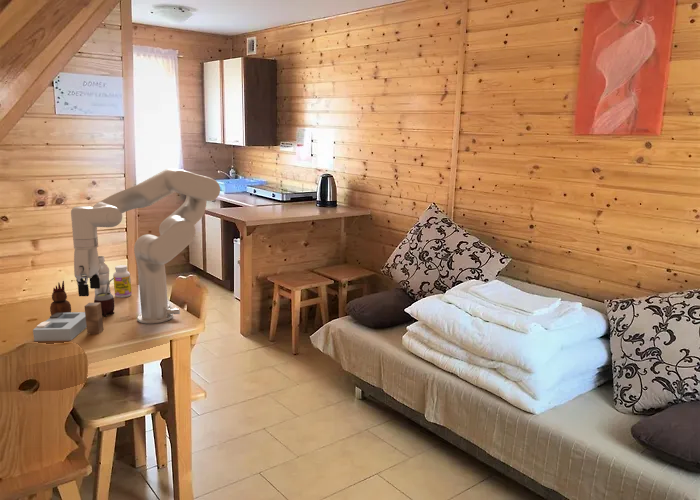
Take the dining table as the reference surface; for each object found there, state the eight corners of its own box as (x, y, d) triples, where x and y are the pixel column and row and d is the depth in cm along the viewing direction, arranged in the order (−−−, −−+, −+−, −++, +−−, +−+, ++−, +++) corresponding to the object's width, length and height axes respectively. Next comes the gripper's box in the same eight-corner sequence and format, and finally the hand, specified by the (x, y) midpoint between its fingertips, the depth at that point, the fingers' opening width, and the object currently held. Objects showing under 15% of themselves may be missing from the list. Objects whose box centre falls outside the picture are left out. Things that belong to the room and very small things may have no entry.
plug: (103, 329, 201) (100, 302, 199) (99, 333, 197) (96, 306, 195) (91, 329, 200) (89, 302, 198) (87, 333, 197) (84, 306, 194)
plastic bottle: (108, 308, 224) (104, 258, 220) (91, 308, 224) (86, 258, 220) (115, 303, 231) (111, 255, 226) (99, 303, 231) (94, 255, 227)
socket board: (92, 322, 208) (90, 310, 207) (71, 340, 191) (69, 327, 190) (58, 323, 208) (57, 311, 207) (34, 341, 190) (32, 328, 189)
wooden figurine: (74, 317, 213) (70, 279, 210) (68, 322, 208) (63, 283, 205) (56, 318, 213) (51, 279, 210) (49, 323, 207) (44, 283, 204)
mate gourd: (95, 312, 219) (92, 275, 216) (117, 310, 222) (114, 273, 219) (94, 318, 212) (90, 279, 209) (117, 316, 215) (114, 277, 212)
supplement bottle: (113, 298, 237) (111, 268, 235) (116, 294, 244) (113, 264, 241) (130, 297, 239) (128, 267, 236) (132, 293, 245) (130, 264, 243)
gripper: (84, 238, 200) (88, 285, 203) (63, 248, 183) (67, 299, 187) (106, 238, 201) (110, 285, 204) (86, 248, 184) (90, 299, 187)
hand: (89, 292), depth 195 cm, fingers open, 9 cm apart
